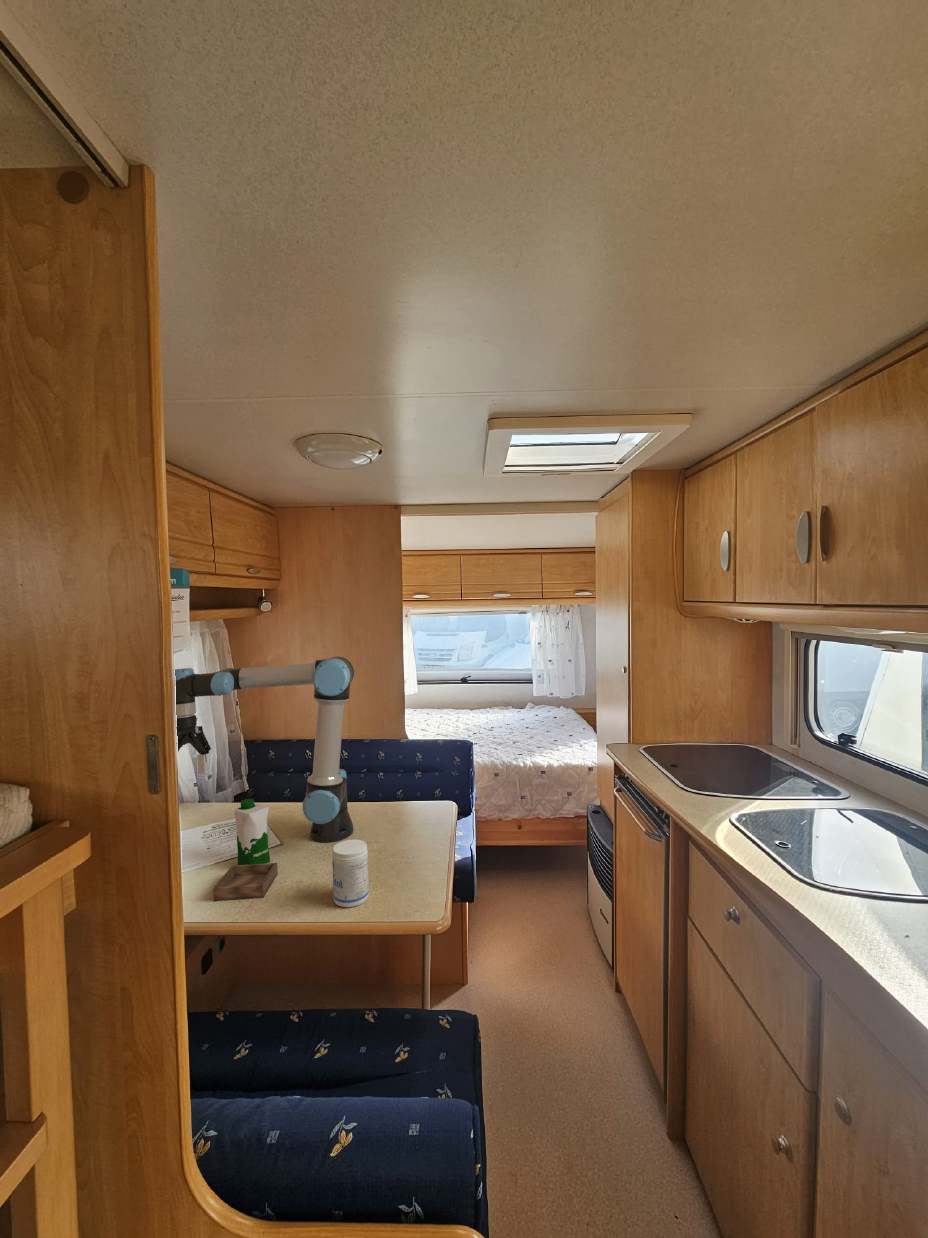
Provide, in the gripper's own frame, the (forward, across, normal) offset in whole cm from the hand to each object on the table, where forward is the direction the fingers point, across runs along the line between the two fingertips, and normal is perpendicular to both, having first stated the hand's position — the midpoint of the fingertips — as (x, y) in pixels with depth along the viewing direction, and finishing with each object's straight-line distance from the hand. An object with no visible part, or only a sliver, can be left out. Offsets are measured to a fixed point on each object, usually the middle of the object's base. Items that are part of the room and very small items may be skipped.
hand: (187, 780), depth 171 cm
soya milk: (+27, -2, +22) cm, 35 cm away
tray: (+27, +12, +30) cm, 42 cm away
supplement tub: (+28, +12, +64) cm, 71 cm away
